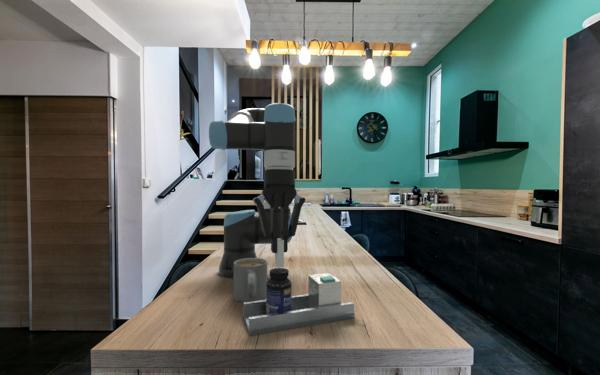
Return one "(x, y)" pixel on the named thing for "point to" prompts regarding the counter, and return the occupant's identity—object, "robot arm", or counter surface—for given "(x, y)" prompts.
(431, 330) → the counter surface
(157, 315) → the counter surface
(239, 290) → the coffee mug
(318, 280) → the rail
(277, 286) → the pill bottle
